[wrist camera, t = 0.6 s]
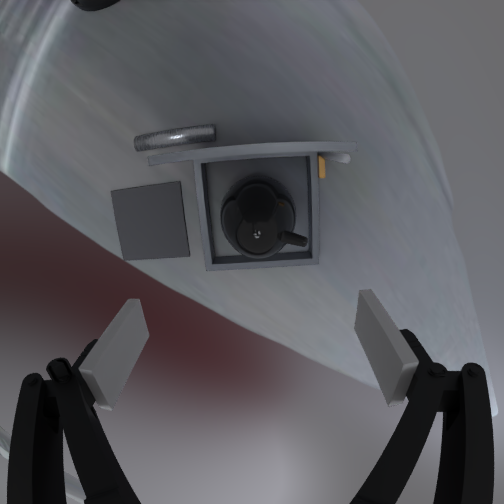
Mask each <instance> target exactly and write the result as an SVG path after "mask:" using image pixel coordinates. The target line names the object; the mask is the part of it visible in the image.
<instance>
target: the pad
mask: <svg viewBox="0 0 504 504" xmlns="http://www.w3.org/2000/svg"><path fill="white" fill-rule="evenodd" d="M111 196H112V202H113V208H114V214H115V220H116V225H117V230H118V235H119V240H120V245H121V250H122V254H123V259H124V261H125V260H142V259H159V258H175V257H190V251H189V245H188V238H187V231H186V224H185V216H184V209H183V201H182V192H181V184H180V182H172V183H164V184H156V185H149V186H142V187H135V188H128V189H122V190H116V191H111Z"/></svg>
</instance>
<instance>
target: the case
mask: <svg viewBox="0 0 504 504" xmlns="http://www.w3.org/2000/svg"><path fill="white" fill-rule="evenodd" d="M323 151H357V142H342V141H313V142H279V143H260V144H246V145H234V146H223V147H213V148H204V149H195V150H188V151H180V152H173V153H166V154H160V155H154V156H148V164H149V166H151V165H158V164H164V163H171V162H179V161H187V160H193V164H194V174H195V184H196V193H197V202H198V211H199V219H200V227H201V235H202V242H203V250H204V257H205V264H206V271H216V270H234V269H252V268H268V267H285V266H300V265H315V264H319V188H318V177H319V178H325V159H327V160H332V161H336V162H341V163H345V164H347V163H349V162H350V160H351V158H350V156H349V155H348V154H343V153H333V152H323ZM293 156H307V174H308V203H309V252H293V253H276V254H274V255H272V256H269V257H266V258H250V257H247V256H245V255H243V256H226V257H215V255H214V247H213V238H212V230H211V221H210V212H209V203H208V194H207V184H206V174H205V163H208V162H218V161H229V160H241V159H255V158H271V157H293Z"/></svg>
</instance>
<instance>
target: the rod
mask: <svg viewBox="0 0 504 504" xmlns="http://www.w3.org/2000/svg"><path fill="white" fill-rule="evenodd" d="M213 140H216V134H215V125H214V124H210V125H202V126H195V127H187V128H181V129H174V130H168V131H162V132H156V133H151V134H146V135H140V136H136V137H135V138H134V147H135V150H136V151H143V150H149V149H155V148H161V147H167V146H174V145H181V144H188V143H196V142H204V141H213Z"/></svg>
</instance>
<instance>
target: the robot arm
mask: <svg viewBox="0 0 504 504" xmlns="http://www.w3.org/2000/svg"><path fill="white" fill-rule="evenodd" d="M118 1H119V0H71V2H72V3H73V4H74V5H75V6H77V7H79V8H80V9H82V10H85V11H95V10H100V9H103V8H106V7H108V6H110V5H112V4H114V3H116V2H118ZM354 329H355V331H356V334H357V336H358V338H359V340H360V342H361V345H362V347H363V349H364V351H365V353H366V356H367V358H368V360H369V362H370V365H371V367H372V369H373V372H374V374H375V376H376V378H377V381H378V383H379V385H380V388H381V390H382V393H383V395H384V397H385V400H386V402H387V404H388V407H390V406H394V405H399V404H402V403H403V401H404V399H405V397H406V396H407V398H408V400H409V402H408V405H407V407H406V409H405V411H404V413H403V415H402V417H401V419H400V421H399V423H398V425H397V427H396V429H395V431H394V433H393V435H392V437H391V439H390V441H389V443H388V444H387V446H386V448H385V450H384V451H383V453H382V455H381V457H380V458H379V460H378V462H377V464H376V465H375V467H374V468H373V470H372V471H371V473H370V475H369V476H368V478H367V479H366V481H365V482H364V484H363V485H362V487H361V488H360V490H359V491H358V493H357V494H356V495H355V497H354V498H353V500H352V501H351V502H350V504H395V503H396V501H397V500H398V498H399V496H400V494H401V493H402V491H403V489H404V487H405V485H406V483H407V481H408V479H409V477H410V475H411V473H412V471H413V469H414V467H415V465H416V463H417V461H418V458H419V456H420V454H421V452H422V449H423V447H424V445H425V442H426V439H427V437H428V435H429V432H430V429H431V427H432V424H433V421H434V419H435V416H436V413H437V412H443V430H442V444H441V455H440V465H439V472H438V480H437V486H436V492H435V497H434V502H433V504H492V503H493V488H494V441H493V427H492V416H491V407H490V400H489V393H488V386H487V381H486V375H485V371H484V369H483V368H482V367H481V366H480V365H478V364H476V363H467V364H465V365H464V366H463V367H462V369H461V371H447V369H446V368H445V367H444V366H443V365H442V364H439V363H435V362H433V361H432V360H431V358H430V357H429V355H428V354H427V352H426V351H425V349H424V348H423V346H422V345H421V343H420V342H419V341H418V339H417V338H416V336H415V335H414V334H413V333H412V332H411V331H409V330H408V329H403V330H399V329H398V328H397V326H396V325H395V323H394V322H393V320H392V319H391V317H390V316H389V314H388V313H387V311H386V310H385V309H384V307H383V306H382V304H381V303H380V301H379V300H378V298H377V297H376V296H375V294H374V293H373V291H372V290H371V289H369V290H359V297H358V305H357V313H356V320H355V327H354ZM148 337H149V333H148V329H147V326H146V322H145V319H144V315H143V311H142V307H141V304H140V300H139V299H128V300H127V302H126V303H125V304H124V306H123V307H122V308H121V310H120V311H119V312H118V314H117V315H116V316H115V318H114V319H113V320H112V322H111V323H110V324H109V326H108V327H107V329H106V330H105V331H104V333H103V334H102V336H101V337H100V338H99V340H98V339H94V340H93V341H92V342H90V343H89V344H88V345H87V346H86V348H85V349H84V351H83V352H82V353H81V356H79V357H78V359H77V360H76V362H75V363H74V365H73V366H72V367H71V365H70V363H69V361H68V360H67V359H65V358H57V359H54V360H52V361H51V362H50V363H49V364H48V365H47V368H46V370H47V372H48V374H49V376H50V378H51V379H52V380H43V378H42V376H41V375H40V374H38V373H32V374H29V375H27V376H26V377H25V378H24V380H23V382H22V386H21V390H20V394H19V398H18V403H17V408H16V413H15V419H14V424H13V430H12V437H11V445H10V453H9V464H8V481H7V504H67V502H66V493H65V482H64V466H63V429H64V433H65V437H66V440H67V444H68V447H69V450H70V454H71V457H72V460H73V463H74V466H75V469H76V471H77V474H78V477H79V479H80V482H81V485H82V487H83V490H84V492H85V495H86V499H85V500H84V504H141V503H140V501H139V499H138V498H137V496H136V494H135V493H134V491H133V489H132V487H131V486H130V484H129V482H128V480H127V478H126V477H125V475H124V473H123V471H122V469H121V467H120V465H119V463H118V461H117V459H116V457H115V455H114V453H113V451H112V449H111V446H110V444H109V442H108V440H107V437H106V435H105V433H104V431H103V428H102V426H101V423H100V421H99V419H98V416H97V413H96V411H95V409H94V407H93V404H94V402H95V401H96V402H97V404H98V406H99V407H100V408H102V409H107V410H113V408H114V406H115V404H116V402H117V399H118V397H119V395H120V393H121V391H122V389H123V387H124V385H125V383H126V381H127V379H128V377H129V375H130V373H131V371H132V369H133V367H134V365H135V362H136V360H137V359H138V357H139V355H140V353H141V351H142V349H143V347H144V345H145V343H146V341H147V339H148Z"/></svg>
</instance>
